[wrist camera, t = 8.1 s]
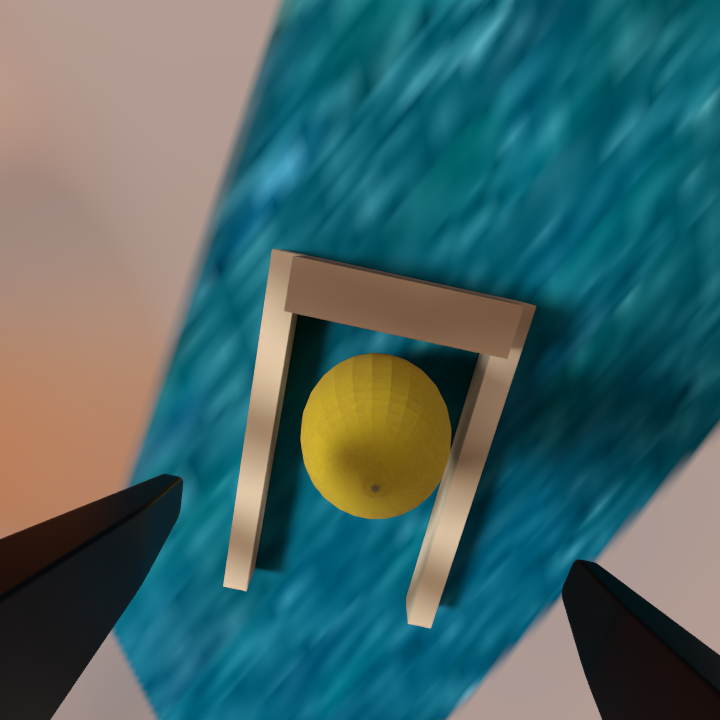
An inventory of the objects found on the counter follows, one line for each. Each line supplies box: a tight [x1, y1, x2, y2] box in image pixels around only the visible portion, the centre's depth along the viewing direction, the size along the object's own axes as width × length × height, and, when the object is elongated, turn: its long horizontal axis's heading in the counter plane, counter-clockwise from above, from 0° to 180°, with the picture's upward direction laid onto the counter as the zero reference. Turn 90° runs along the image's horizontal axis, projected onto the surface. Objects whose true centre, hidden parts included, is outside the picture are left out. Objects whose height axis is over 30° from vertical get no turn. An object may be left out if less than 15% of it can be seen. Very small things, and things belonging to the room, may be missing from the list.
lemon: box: [301, 353, 451, 519], centre depth 15 cm, size 6×6×8 cm
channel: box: [223, 249, 536, 628], centre depth 18 cm, size 17×11×4 cm, turn 168°
